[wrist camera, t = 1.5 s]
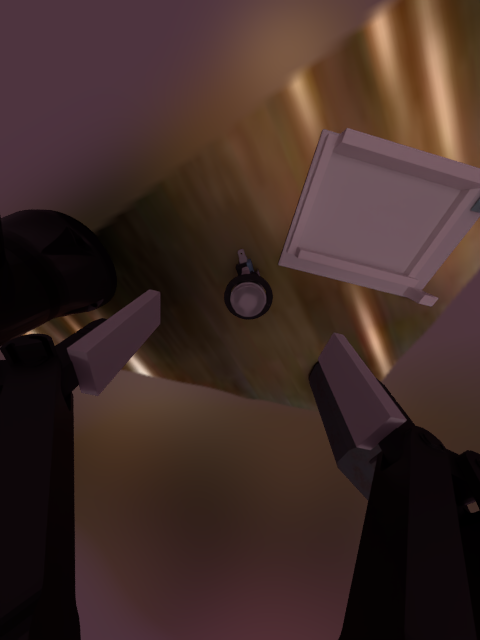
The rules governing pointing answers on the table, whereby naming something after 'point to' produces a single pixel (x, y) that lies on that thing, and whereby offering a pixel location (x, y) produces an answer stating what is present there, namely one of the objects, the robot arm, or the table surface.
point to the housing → (380, 214)
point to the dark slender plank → (476, 207)
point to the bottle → (342, 436)
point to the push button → (247, 291)
